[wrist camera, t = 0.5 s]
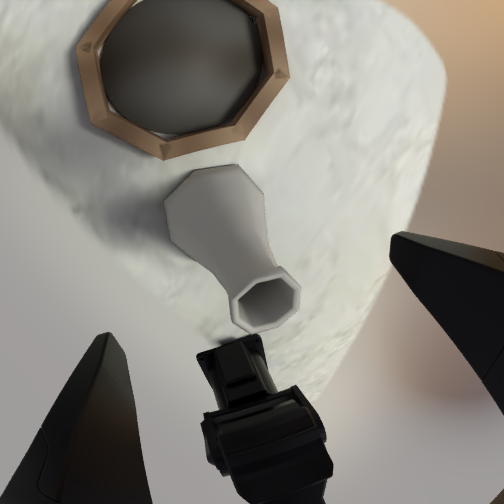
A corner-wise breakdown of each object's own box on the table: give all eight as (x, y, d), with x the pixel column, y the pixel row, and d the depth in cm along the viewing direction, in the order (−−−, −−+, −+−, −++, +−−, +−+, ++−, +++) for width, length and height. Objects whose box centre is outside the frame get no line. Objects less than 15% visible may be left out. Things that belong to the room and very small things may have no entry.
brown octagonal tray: (287, 127, 18) (297, 130, 17) (110, 173, 16) (107, 179, 15) (260, -28, 12) (269, -35, 11) (75, 7, 10) (70, 0, 8)
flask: (193, 275, 22) (224, 381, 14) (145, 195, 18) (141, 284, 9) (277, 232, 22) (350, 315, 14) (244, 146, 18) (325, 191, 10)
